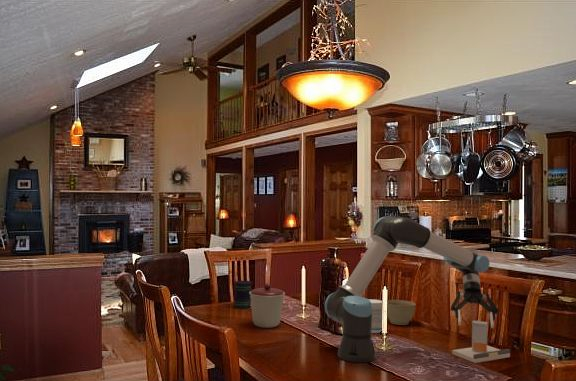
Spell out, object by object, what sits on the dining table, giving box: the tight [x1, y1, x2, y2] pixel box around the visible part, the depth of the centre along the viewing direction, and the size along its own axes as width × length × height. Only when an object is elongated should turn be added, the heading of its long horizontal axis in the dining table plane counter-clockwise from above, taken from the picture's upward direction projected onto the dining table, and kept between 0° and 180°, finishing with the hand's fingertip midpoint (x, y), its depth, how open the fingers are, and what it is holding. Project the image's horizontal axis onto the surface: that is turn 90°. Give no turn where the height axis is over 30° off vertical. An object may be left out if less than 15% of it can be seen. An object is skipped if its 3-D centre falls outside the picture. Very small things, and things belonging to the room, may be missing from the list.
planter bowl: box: [386, 299, 417, 326], centre depth 247 cm, size 16×16×11 cm
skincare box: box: [471, 320, 489, 353], centre depth 197 cm, size 6×4×12 cm
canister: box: [249, 282, 286, 329], centre depth 236 cm, size 18×18×21 cm
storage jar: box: [233, 280, 252, 310], centre depth 276 cm, size 10×10×15 cm
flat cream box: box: [451, 344, 511, 364], centre depth 196 cm, size 20×12×3 cm, turn 116°
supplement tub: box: [368, 299, 383, 334], centre depth 231 cm, size 10×10×15 cm
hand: (475, 325), depth 207 cm, fingers open, 13 cm apart
